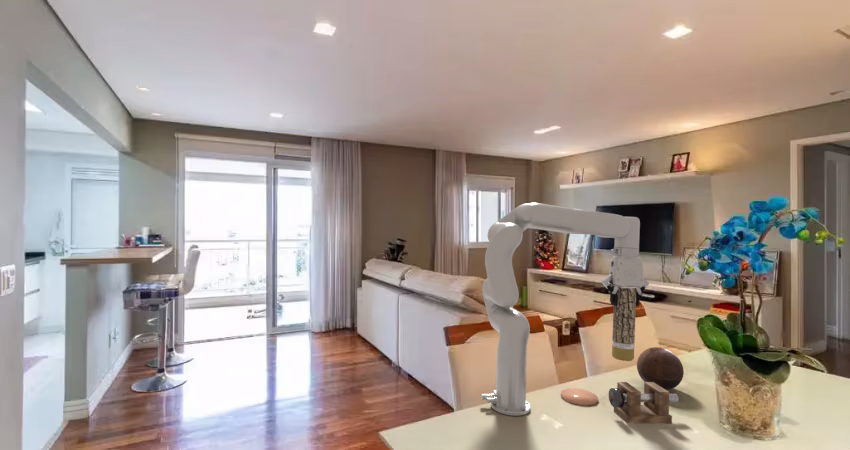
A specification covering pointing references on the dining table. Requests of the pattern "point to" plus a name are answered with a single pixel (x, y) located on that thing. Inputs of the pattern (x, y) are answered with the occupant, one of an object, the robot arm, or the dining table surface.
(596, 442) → the dining table surface
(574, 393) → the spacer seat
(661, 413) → the bearing housing
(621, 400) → the shaft
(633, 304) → the paper tube
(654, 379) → the wooden sphere
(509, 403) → the robot arm
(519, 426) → the dining table surface
